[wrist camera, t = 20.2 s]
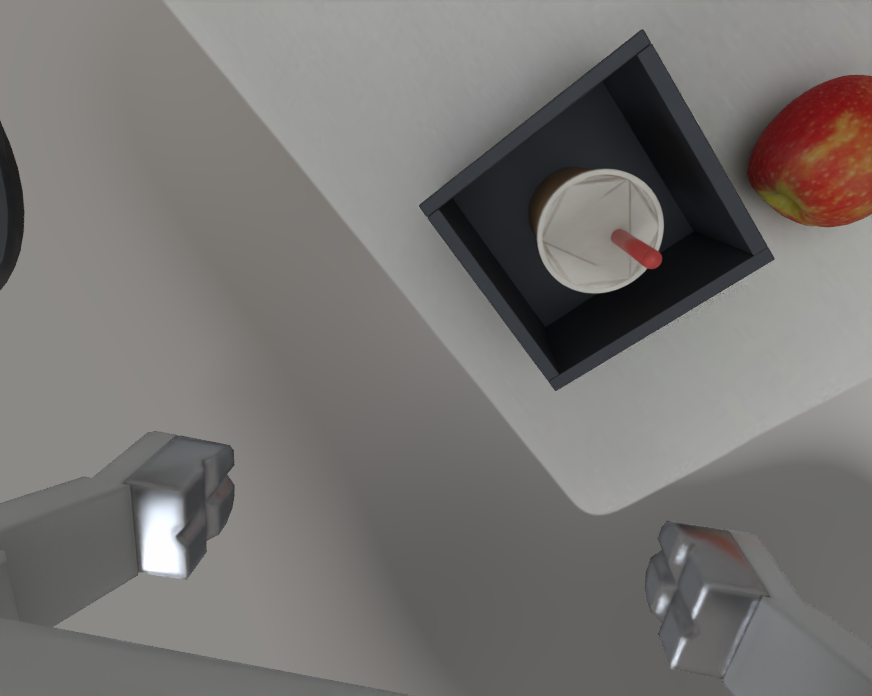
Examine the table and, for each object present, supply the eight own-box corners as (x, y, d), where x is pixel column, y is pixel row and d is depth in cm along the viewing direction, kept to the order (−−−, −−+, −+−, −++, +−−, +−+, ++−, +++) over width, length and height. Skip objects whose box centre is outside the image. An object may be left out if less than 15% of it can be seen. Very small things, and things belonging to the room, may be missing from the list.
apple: (709, 159, 35) (767, 162, 28) (819, 51, 33) (917, 22, 25) (785, 239, 37) (860, 262, 29) (898, 141, 34) (1012, 139, 26)
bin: (435, 192, 38) (418, 205, 29) (602, 60, 34) (643, 27, 25) (541, 337, 41) (555, 391, 32) (705, 232, 37) (775, 259, 28)
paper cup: (518, 250, 38) (535, 319, 23) (535, 157, 36) (569, 163, 20) (606, 264, 38) (684, 342, 22) (630, 171, 35) (736, 187, 20)
